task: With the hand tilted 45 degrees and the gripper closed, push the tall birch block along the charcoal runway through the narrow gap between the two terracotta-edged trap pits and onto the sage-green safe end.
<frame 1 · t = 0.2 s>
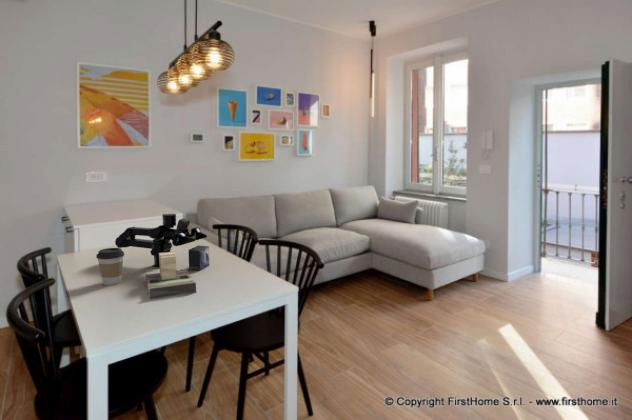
hand: (201, 238, 198), 16 cm above the table, tool horizontal, fingers open, 9 cm apart
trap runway: (170, 286, 176), on the table
coffee cup: (112, 283, 181), on the table
small box: (199, 268, 205), on the table
birch block: (168, 276, 181), point 3 cm above the table, touching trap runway
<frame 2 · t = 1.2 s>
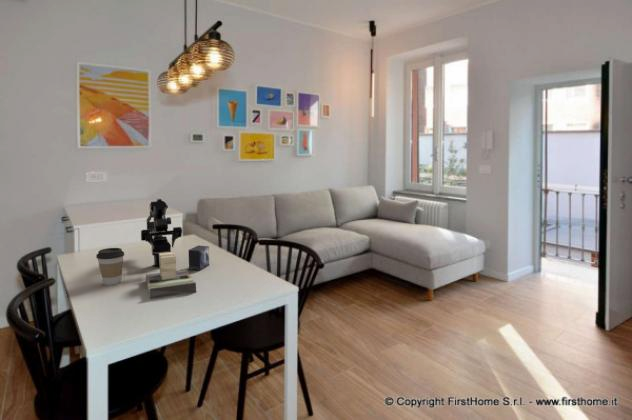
hand: (163, 247, 193), 13 cm above the table, tool tilted 45°, fingers open, 8 cm apart
nothing on the table moved.
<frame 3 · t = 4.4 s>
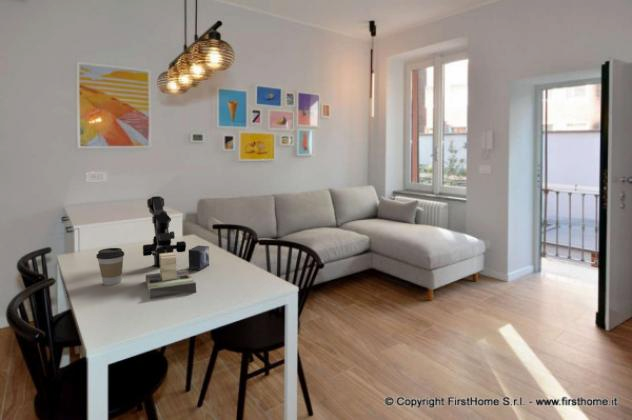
hand: (166, 263, 183), 8 cm above the table, tool tilted 45°, fingers closed
birch block: (168, 276, 180), point 3 cm above the table
everything else where it was.
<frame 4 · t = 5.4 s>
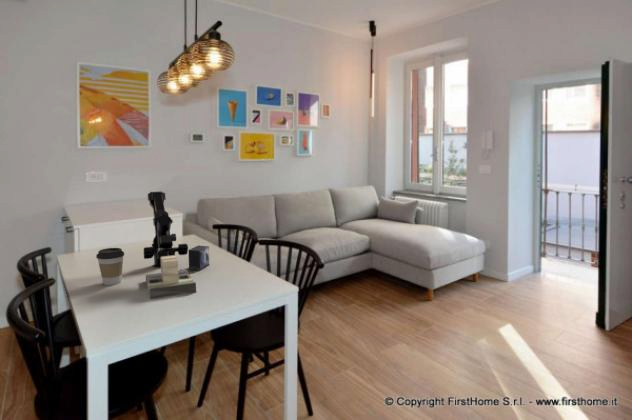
hand: (168, 267, 178), 8 cm above the table, tool tilted 45°, fingers closed, pressing on birch block
birch block: (170, 280, 175), point 3 cm above the table, touching gripper, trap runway
everything else where it was.
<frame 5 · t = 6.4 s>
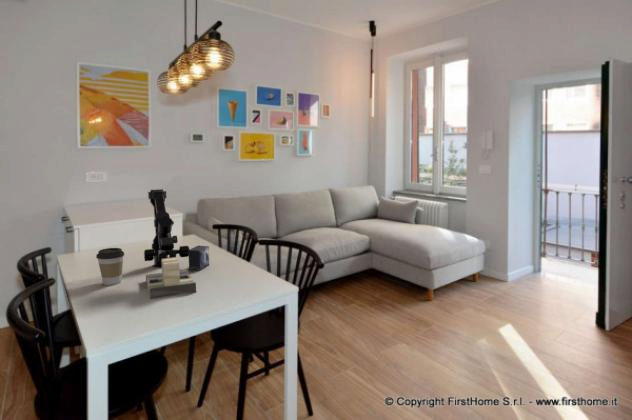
hand: (169, 269, 175), 8 cm above the table, tool tilted 45°, fingers closed, pressing on birch block
birch block: (171, 283, 171), point 3 cm above the table, touching gripper, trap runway
everything else where it was.
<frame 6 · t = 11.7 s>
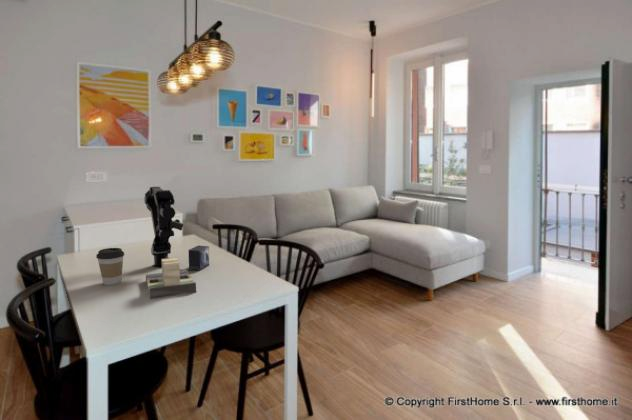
hand: (165, 247, 196), 12 cm above the table, tool pointing down, fingers closed
birch block: (171, 283, 171), point 3 cm above the table, touching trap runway
everything else where it was.
at the end: birch block 1.1 cm from the target spot on the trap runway, point 3.0 cm above the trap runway's base; birch block tilted 0° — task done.
